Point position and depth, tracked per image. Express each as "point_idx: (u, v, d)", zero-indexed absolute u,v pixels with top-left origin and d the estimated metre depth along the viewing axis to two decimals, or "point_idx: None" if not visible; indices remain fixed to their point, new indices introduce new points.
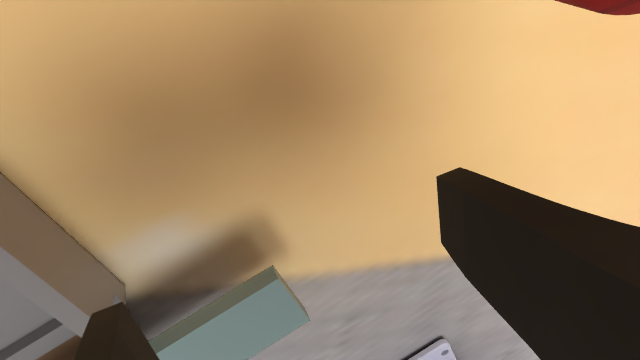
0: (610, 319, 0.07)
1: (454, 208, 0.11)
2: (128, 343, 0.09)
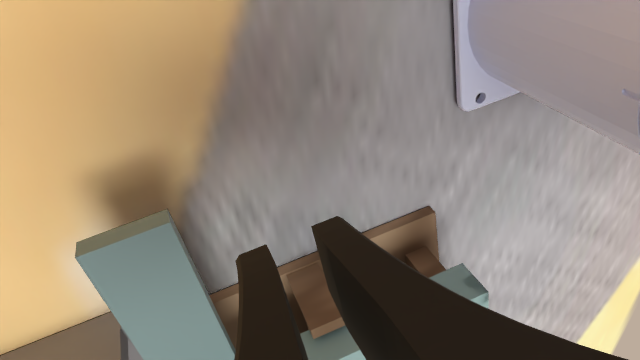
0: None
1: (326, 261, 0.10)
2: None
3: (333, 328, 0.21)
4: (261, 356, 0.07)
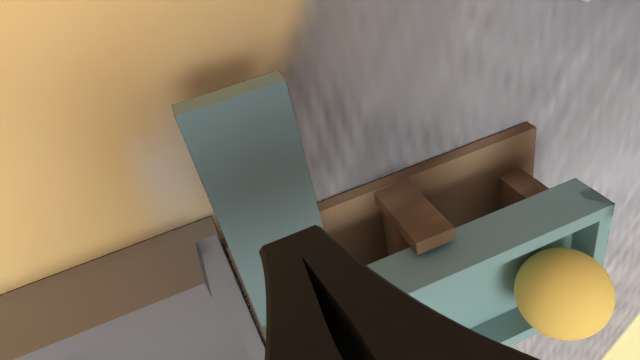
0: None
1: None
2: None
3: (440, 243, 0.18)
4: (293, 342, 0.07)
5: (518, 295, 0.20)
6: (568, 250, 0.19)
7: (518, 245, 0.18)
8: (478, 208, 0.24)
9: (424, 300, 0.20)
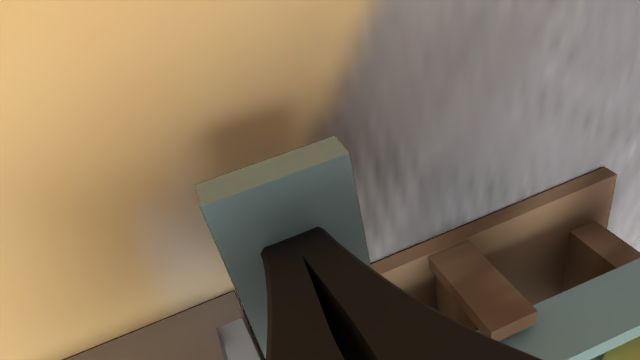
0: None
1: None
2: None
3: (518, 329, 0.15)
4: (294, 342, 0.07)
5: None
6: None
7: (617, 335, 0.15)
8: (543, 265, 0.20)
9: None
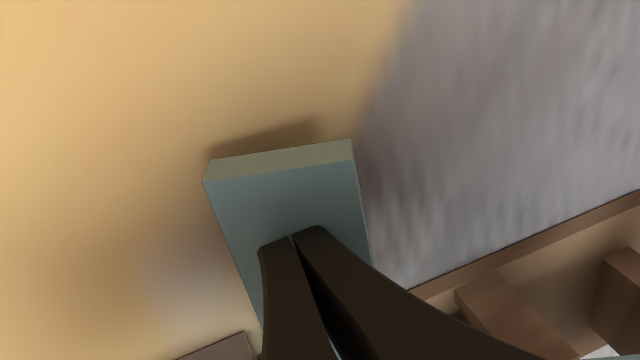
0: None
1: (306, 269, 0.10)
2: None
3: None
4: (289, 344, 0.07)
5: None
6: None
7: None
8: (573, 294, 0.19)
9: None
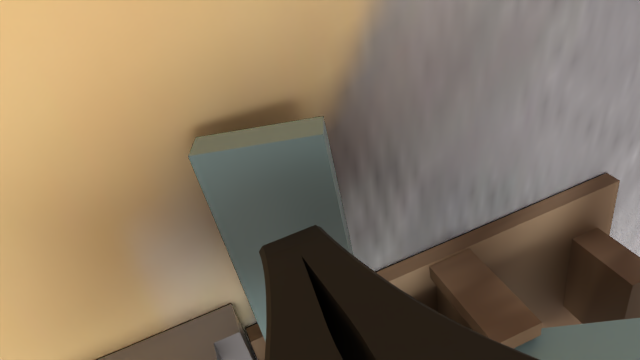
0: None
1: None
2: None
3: (522, 341, 0.15)
4: (293, 342, 0.07)
5: None
6: None
7: None
8: (545, 273, 0.20)
9: None
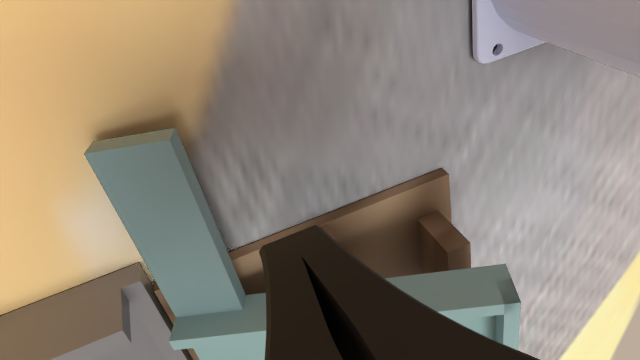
0: None
1: None
2: None
3: None
4: (293, 342, 0.07)
5: None
6: None
7: None
8: (399, 246, 0.25)
9: None
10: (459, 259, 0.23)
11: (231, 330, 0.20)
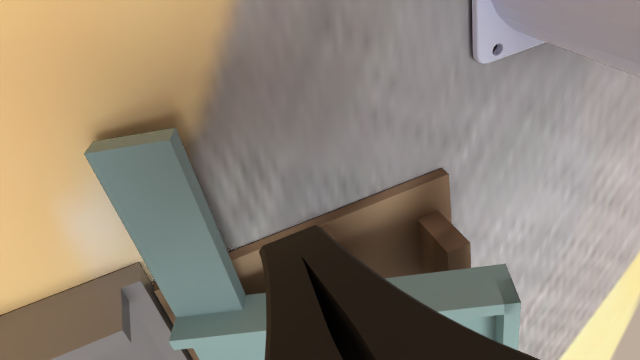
0: None
1: None
2: None
3: None
4: (293, 342, 0.07)
5: None
6: None
7: None
8: (399, 246, 0.25)
9: None
10: (459, 259, 0.23)
11: (231, 330, 0.20)
